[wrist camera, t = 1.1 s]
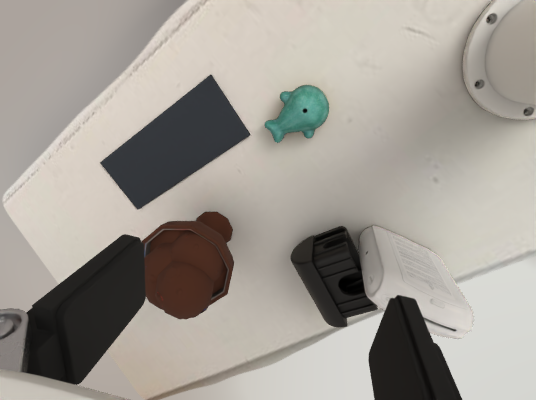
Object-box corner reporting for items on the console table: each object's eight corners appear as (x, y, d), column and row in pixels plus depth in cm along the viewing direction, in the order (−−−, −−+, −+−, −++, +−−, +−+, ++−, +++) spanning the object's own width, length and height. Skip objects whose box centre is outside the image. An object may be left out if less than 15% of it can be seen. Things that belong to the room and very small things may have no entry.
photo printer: (351, 245, 39) (361, 313, 28) (368, 218, 37) (386, 280, 26) (423, 278, 39) (462, 359, 28) (444, 253, 37) (494, 329, 26)
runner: (211, 74, 34) (210, 74, 34) (250, 134, 36) (249, 135, 36) (101, 162, 41) (100, 162, 41) (138, 208, 43) (137, 209, 43)
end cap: (292, 240, 41) (286, 269, 34) (342, 221, 38) (345, 249, 32) (324, 296, 43) (323, 333, 37) (372, 282, 41) (380, 319, 35)
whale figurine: (338, 118, 34) (340, 123, 30) (284, 152, 36) (279, 160, 33) (312, 71, 32) (310, 71, 29) (257, 110, 35) (249, 113, 31)
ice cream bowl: (230, 181, 39) (178, 238, 25) (263, 253, 42) (232, 337, 28) (164, 205, 42) (86, 267, 28) (199, 270, 45) (144, 353, 32)
